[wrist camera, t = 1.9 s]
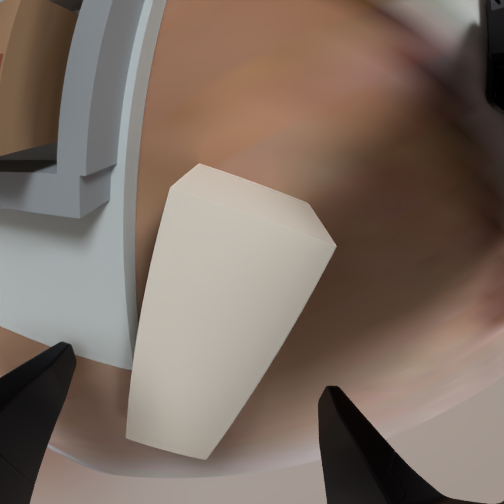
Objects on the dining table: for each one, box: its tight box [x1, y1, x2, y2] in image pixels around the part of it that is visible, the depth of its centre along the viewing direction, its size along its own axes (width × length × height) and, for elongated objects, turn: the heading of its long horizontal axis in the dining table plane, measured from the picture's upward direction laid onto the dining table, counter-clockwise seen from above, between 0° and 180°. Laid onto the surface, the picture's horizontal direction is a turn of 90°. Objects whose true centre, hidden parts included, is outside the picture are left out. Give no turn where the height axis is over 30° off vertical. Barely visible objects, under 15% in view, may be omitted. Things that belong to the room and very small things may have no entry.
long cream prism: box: [126, 163, 337, 460], centre depth 11 cm, size 4×12×4 cm, turn 160°
